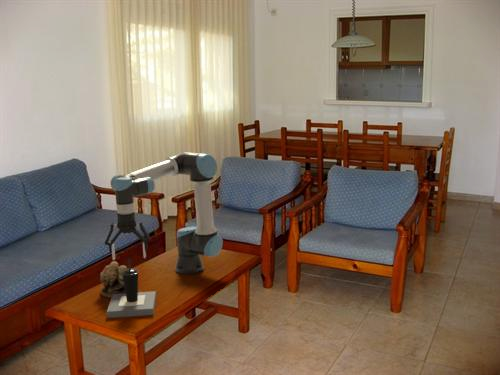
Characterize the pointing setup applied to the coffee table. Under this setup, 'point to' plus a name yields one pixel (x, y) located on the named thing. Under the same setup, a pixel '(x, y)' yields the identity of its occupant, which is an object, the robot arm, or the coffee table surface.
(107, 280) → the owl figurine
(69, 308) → the coffee table surface
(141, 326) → the coffee table surface
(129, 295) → the drinking cup
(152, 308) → the base
